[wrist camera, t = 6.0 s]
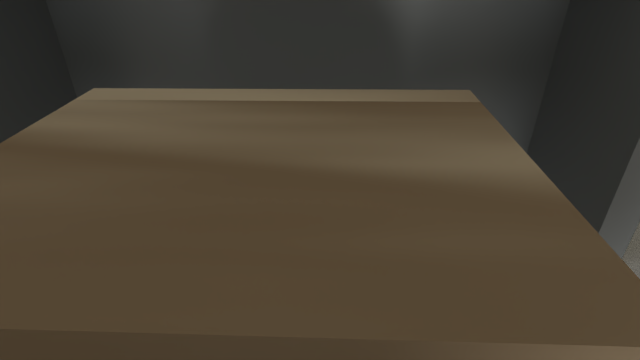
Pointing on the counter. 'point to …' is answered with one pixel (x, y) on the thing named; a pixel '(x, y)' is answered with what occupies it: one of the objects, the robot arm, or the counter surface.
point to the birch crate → (296, 234)
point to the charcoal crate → (365, 68)
